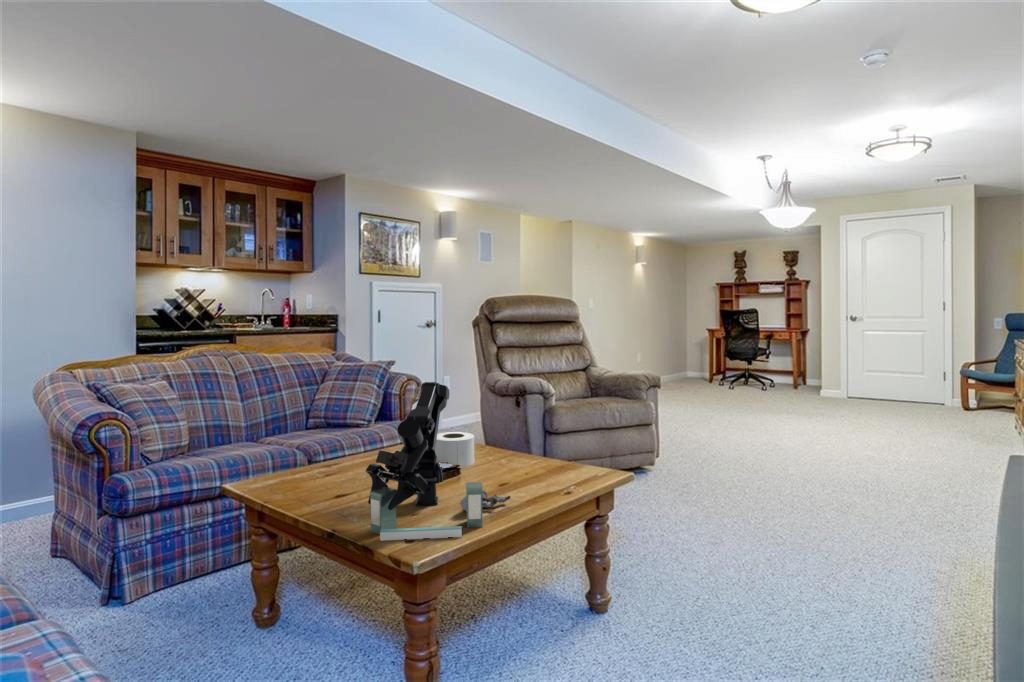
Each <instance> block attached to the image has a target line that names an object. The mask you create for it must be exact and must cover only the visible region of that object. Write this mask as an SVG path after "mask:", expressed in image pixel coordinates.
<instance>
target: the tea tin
mask: <svg viewBox="0 0 1024 682" xmlns="http://www.w3.org/2000/svg"><path fill="white" fill-rule="evenodd" d="M396 490H397V489H396V488H392V487H389V486H388V487H382V488H379V489H376V490H373V491H371V490H369V496H370V504H369V505H370V532H371V533H372V534H376V535H379V534H380V530H381V529H397V506H396V507H395V508H393V509H392V510H389V509H388V506H389V503H390V501H391V499H392V498H393V496H394V494H395V492H396Z"/></svg>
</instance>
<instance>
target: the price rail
mask: <svg viewBox="0 0 1024 682" xmlns="http://www.w3.org/2000/svg"><path fill="white" fill-rule="evenodd" d="M462 527H463V526H462V525H459V526H457V525H455V526H454V525H453V526H452V525H451V526H433V527H432V526H431V527H430V526H429V527H407V528H406V527H405V528H396V529H381V530H380V535H379V538H380V539H379V540H380V541H381V542H382V541H402V540H404V539H407V540H424V539H423V538H430V539H449V538H448V537H453V538H462V537H463V536H462V535H463V533H462V529H463V528H462Z"/></svg>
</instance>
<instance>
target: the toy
mask: <svg viewBox="0 0 1024 682" xmlns="http://www.w3.org/2000/svg"><path fill="white" fill-rule="evenodd" d="M486 491H487V490H482V511H484V510H485V508H489V507H491V508H494V506H495V505H496V504H497V503H505V502H507V501H508V500H510V499H511V495H508V496H505V497H504V496H500V495H499V494H494V495H493V496H491V497H488V495H487V494H488V493H487V492H486ZM459 504H460V505H461V507H462V509H463V510H464V511H465V512H466V513H467V495H466V496H464V497H463V498H462V499H461V500H460V503H459Z"/></svg>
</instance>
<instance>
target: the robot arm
mask: <svg viewBox="0 0 1024 682" xmlns="http://www.w3.org/2000/svg"><path fill="white" fill-rule="evenodd" d="M449 399H450V389H449V387H448V386H447V385H445V384H444V385H443V384H440V383H439V382H437V381H425V382H422V383H421V386H420V395H419V397H418V400H417V403H416V406H415V408H414V409H412V410H410V411H409V412H408V414H407V416H406V418H404V420H402V421H401V422H400V423H399V425H398V426H397V433H398V436H399V438H400V441H401V443H402V445H403V446H402V448H401V449H400V450H395V451H394V452H390V451H386V450H378V454H377V456H376V459H375V463H370V464H368V466H367V468H366V469H365V470H364V471H365V472H366V473H367V475H369V477H370V478H371V480H372V481H371V488H370V491H373V490H376V489H379V488H382V487H389V485H388V484H387V483H389V481H394V482H397V489H396V492H395V494H394V496H393V498H392V499H391V501H390V503H389V506H388V509H389V510H392V509H393V508H395V507H396V508H397V506H399V505H401V504H402V503H404V502H405V501H406V500H408V499H410V498H411V497H412V496H415V495H416V498H415V502H414V505H415V506H434V505H438V502H439V501H438V500H439V496H437V484H438V485H439V484H440V483H443V481H444V479H443V478H444V476H443V468H441V467H440V464H439V461H438V458H437V455H436V453H435V447H436V440H437V434H438V432H439V424H440V416H441V412H442V411H443V410H444V409H445V408H446V407H447V403H448V400H449ZM376 463H377V464H376ZM381 464H383V465H385V466H384V467H383V465H381ZM367 503H368V504H369V505H370V495H369V497H368V501H367Z"/></svg>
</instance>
